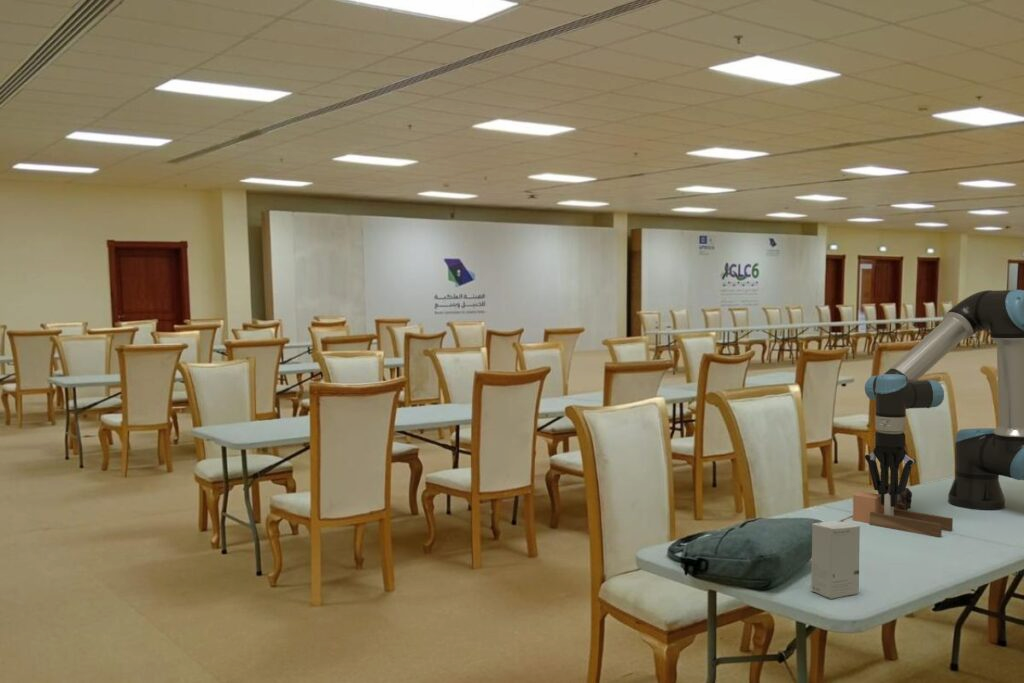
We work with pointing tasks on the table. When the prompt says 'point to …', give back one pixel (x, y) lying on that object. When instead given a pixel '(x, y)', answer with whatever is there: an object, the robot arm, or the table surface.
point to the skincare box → (835, 559)
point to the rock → (903, 499)
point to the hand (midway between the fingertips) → (888, 517)
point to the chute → (912, 522)
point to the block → (866, 506)
